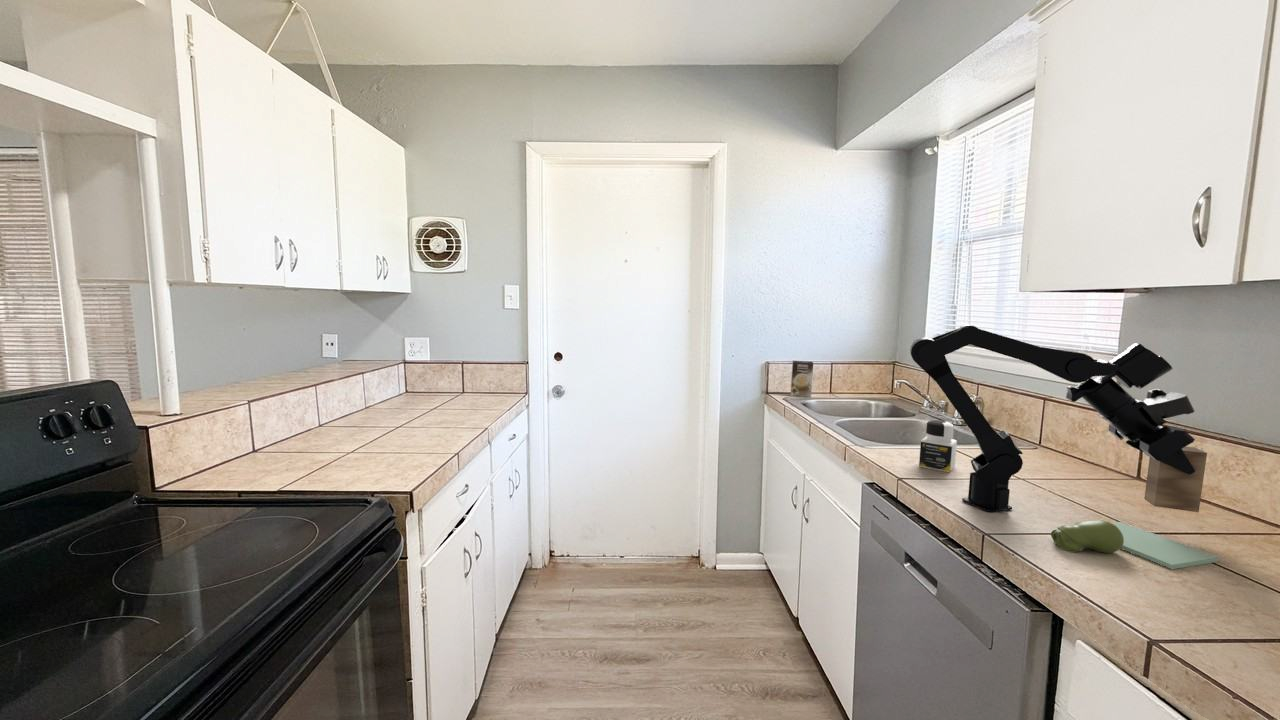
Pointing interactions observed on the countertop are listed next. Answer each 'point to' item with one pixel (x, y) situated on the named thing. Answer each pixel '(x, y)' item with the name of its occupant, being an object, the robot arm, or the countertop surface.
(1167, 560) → the mat
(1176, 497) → the block
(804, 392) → the coffee box
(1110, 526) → the pear
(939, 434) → the medicine bottle
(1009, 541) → the countertop surface
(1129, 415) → the robot arm
